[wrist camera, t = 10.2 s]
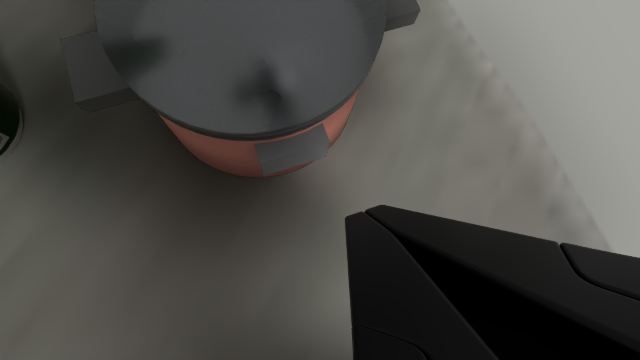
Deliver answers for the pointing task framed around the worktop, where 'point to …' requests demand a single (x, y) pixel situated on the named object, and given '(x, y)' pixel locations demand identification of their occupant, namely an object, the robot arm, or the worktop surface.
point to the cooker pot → (226, 155)
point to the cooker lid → (242, 59)
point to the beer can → (9, 122)
